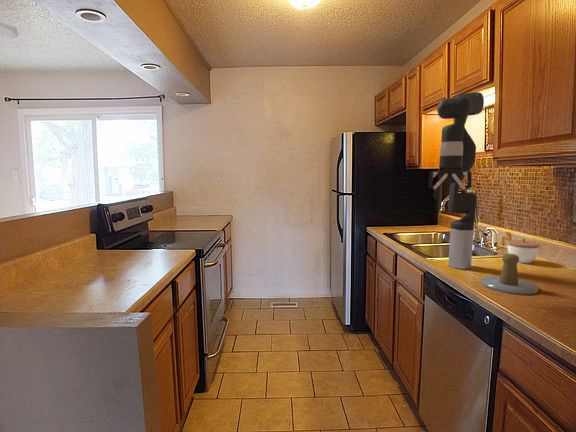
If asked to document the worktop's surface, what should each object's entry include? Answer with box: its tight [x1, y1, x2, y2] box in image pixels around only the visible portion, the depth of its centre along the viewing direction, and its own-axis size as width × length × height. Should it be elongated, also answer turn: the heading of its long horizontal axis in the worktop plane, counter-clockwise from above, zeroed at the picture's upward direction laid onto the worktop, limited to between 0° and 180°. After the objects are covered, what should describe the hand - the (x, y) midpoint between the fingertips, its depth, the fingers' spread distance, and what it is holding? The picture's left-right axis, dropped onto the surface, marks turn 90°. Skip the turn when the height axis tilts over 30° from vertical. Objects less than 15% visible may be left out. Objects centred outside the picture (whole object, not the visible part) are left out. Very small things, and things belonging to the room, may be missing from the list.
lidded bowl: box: [507, 238, 541, 264], centre depth 164 cm, size 13×13×11 cm
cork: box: [499, 253, 519, 286], centre depth 128 cm, size 6×6×11 cm
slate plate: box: [480, 275, 539, 296], centre depth 129 cm, size 18×18×1 cm
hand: (448, 199), depth 127 cm, fingers open, 8 cm apart
